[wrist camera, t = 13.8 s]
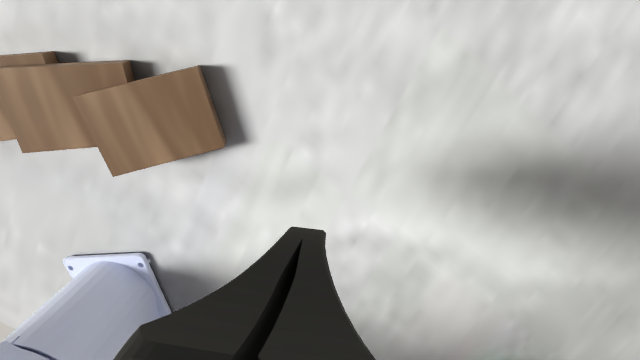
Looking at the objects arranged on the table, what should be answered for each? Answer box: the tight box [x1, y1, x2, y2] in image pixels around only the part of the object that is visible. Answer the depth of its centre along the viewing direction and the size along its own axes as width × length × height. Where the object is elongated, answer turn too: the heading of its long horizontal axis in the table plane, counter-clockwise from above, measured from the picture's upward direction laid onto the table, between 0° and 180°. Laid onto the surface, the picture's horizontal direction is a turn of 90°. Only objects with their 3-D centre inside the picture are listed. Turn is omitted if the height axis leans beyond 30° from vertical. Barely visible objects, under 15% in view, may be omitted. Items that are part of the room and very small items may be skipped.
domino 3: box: [72, 65, 226, 177], centre depth 21 cm, size 2×5×7 cm
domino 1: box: [0, 51, 58, 141], centre depth 22 cm, size 2×5×7 cm
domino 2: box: [0, 60, 135, 153], centre depth 21 cm, size 2×5×7 cm
